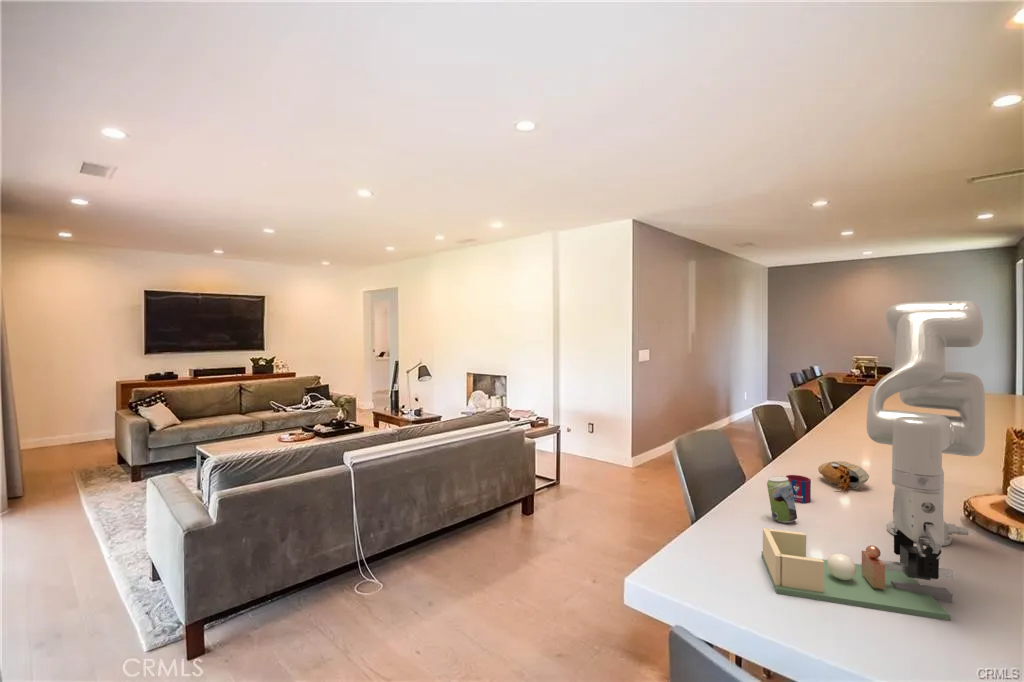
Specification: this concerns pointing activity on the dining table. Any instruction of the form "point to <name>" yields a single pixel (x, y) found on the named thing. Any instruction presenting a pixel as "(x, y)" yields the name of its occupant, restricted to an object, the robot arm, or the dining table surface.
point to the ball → (841, 566)
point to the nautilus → (844, 474)
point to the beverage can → (781, 499)
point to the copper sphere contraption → (894, 565)
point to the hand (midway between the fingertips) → (914, 565)
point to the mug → (800, 488)
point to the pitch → (816, 582)
